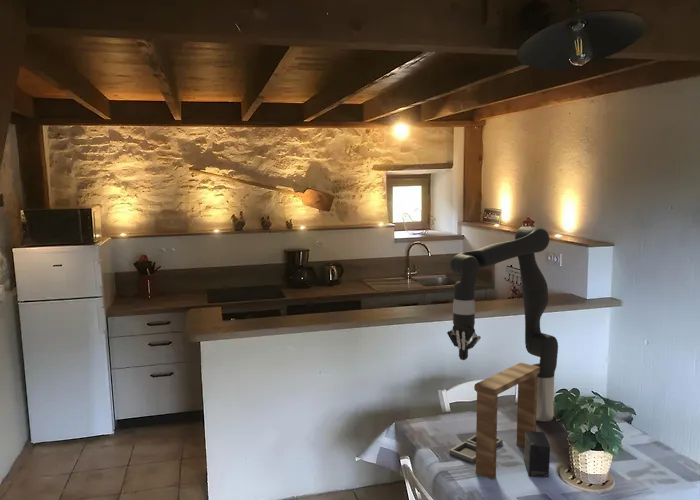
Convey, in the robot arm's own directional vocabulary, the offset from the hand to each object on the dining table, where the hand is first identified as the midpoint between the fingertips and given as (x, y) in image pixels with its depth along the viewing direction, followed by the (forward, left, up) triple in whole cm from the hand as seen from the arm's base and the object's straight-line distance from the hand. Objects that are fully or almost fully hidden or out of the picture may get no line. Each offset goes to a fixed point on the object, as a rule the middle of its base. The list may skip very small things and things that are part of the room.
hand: (463, 359), depth 197 cm
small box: (+3, +30, -29) cm, 42 cm away
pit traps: (+4, +9, -29) cm, 30 cm away
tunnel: (+4, +20, -29) cm, 35 cm away
